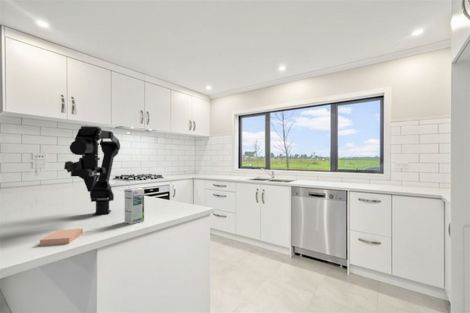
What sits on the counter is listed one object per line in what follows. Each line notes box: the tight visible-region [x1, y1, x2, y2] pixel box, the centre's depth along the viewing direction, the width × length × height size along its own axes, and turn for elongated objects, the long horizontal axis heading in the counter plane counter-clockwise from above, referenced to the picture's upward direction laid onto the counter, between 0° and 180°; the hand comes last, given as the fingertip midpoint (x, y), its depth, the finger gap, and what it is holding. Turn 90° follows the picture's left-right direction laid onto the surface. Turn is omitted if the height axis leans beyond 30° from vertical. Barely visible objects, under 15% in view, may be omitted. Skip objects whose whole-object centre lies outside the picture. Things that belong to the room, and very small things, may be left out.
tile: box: [39, 228, 84, 247], centre depth 71 cm, size 2×8×9 cm
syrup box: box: [123, 186, 145, 225], centre depth 91 cm, size 6×6×14 cm
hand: (89, 191), depth 91 cm, fingers closed
